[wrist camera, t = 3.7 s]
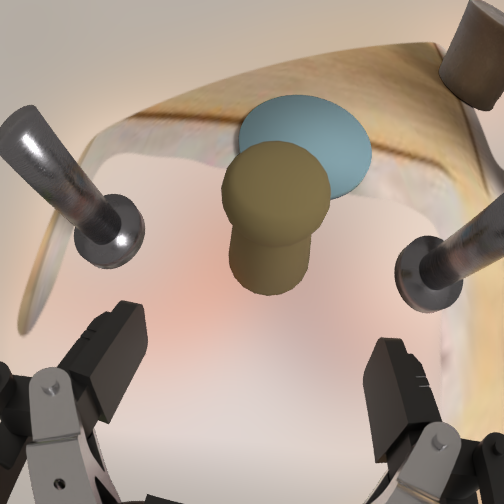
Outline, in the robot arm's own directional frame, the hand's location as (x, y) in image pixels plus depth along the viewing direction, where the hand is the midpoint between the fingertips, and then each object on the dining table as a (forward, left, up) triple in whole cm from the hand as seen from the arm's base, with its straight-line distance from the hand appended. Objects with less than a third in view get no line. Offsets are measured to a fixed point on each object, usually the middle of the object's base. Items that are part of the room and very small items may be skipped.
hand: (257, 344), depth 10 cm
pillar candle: (-25, -36, -12) cm, 45 cm away
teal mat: (-2, -18, -12) cm, 22 cm away
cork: (0, -7, -12) cm, 14 cm away
